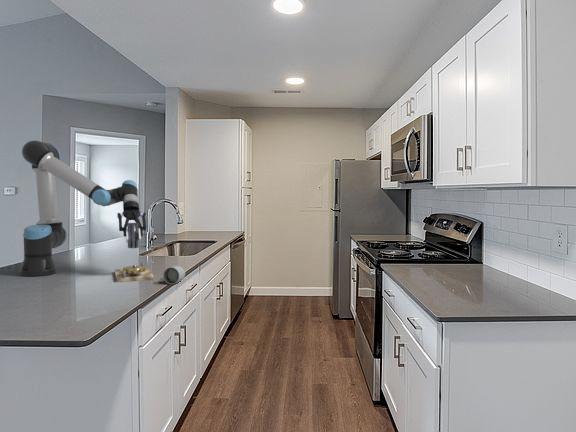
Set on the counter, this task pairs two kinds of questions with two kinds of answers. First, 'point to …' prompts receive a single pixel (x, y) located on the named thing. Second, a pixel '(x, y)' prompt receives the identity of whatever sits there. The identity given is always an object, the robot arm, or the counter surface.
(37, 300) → the counter surface
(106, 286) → the counter surface
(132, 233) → the pinion
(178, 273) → the ceramic mug
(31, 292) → the counter surface
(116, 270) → the board
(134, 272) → the gear
